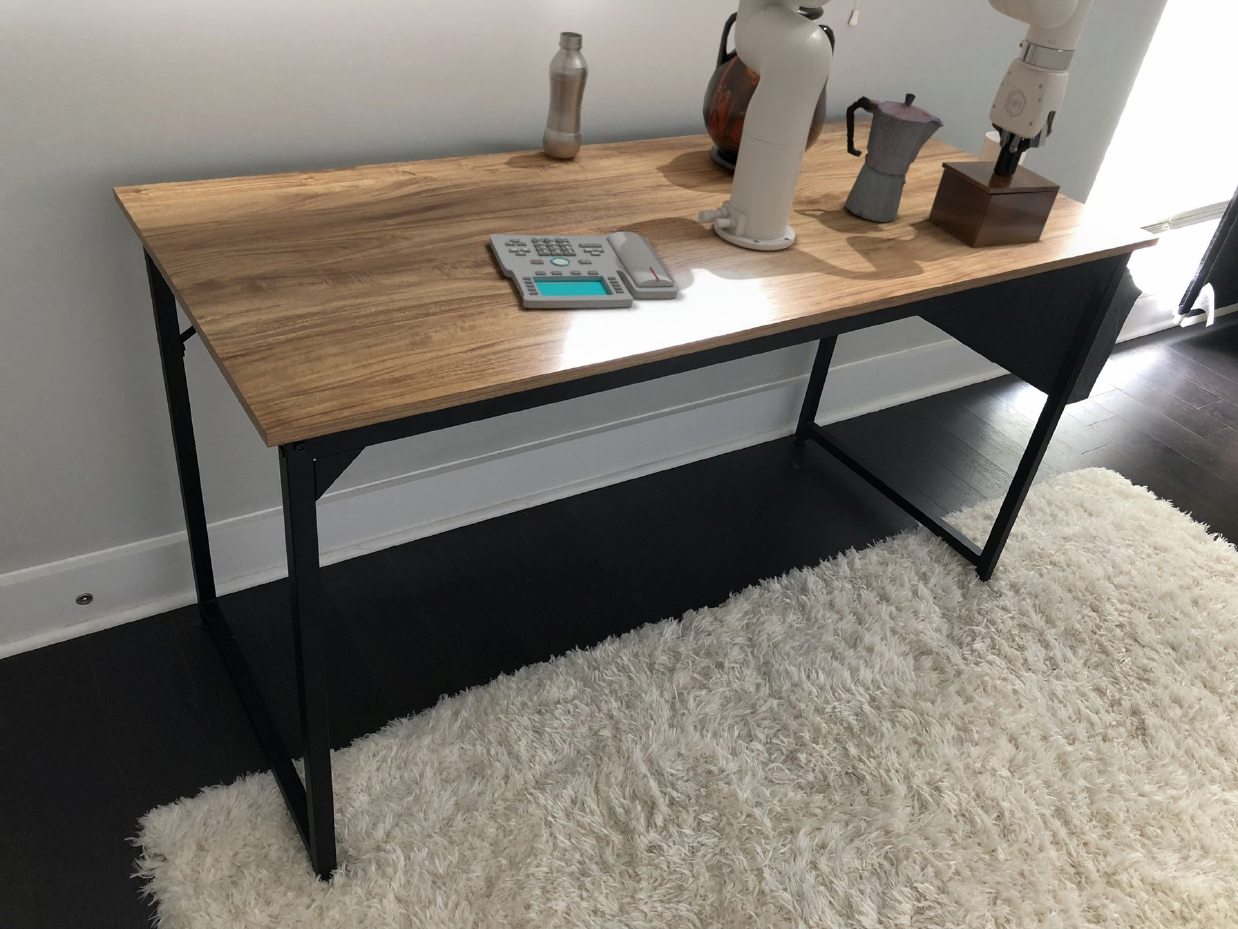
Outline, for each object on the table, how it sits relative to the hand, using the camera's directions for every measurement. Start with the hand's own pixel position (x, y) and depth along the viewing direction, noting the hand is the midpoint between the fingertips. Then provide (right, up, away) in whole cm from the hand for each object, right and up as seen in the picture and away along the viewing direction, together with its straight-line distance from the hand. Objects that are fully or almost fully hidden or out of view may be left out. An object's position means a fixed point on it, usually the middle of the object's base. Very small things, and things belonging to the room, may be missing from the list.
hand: (1003, 173), depth 160 cm
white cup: (+6, +3, +22) cm, 23 cm away
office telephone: (-68, -22, -26) cm, 76 cm away
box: (-1, -8, +6) cm, 10 cm away
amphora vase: (-39, +6, +18) cm, 43 cm away
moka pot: (-21, -5, +6) cm, 22 cm away
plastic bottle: (-73, +6, +10) cm, 74 cm away
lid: (-1, -1, 0) cm, 1 cm away
